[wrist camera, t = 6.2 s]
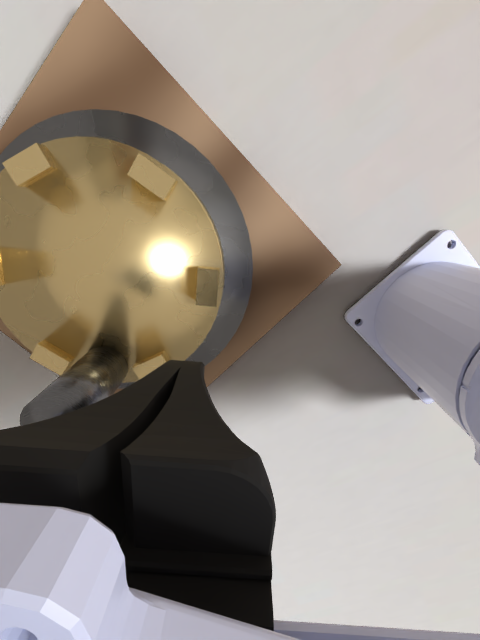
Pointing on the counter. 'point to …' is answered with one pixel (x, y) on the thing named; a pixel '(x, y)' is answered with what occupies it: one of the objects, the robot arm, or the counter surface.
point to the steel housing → (195, 174)
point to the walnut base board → (196, 128)
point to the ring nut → (103, 267)
